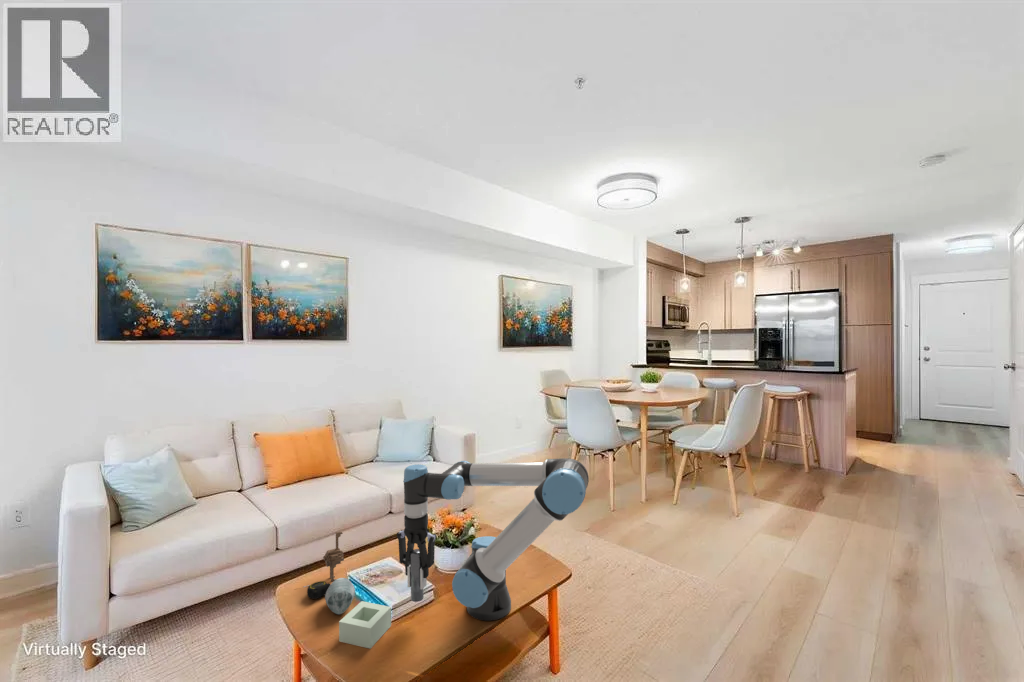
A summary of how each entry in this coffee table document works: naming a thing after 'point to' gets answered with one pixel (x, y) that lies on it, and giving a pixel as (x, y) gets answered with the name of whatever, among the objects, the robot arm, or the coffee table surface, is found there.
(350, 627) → the green block with hole
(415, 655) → the coffee table surface
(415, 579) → the grey metal cylinder
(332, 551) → the ostrich figurine
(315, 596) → the tape measure
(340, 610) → the grey rounded lump
